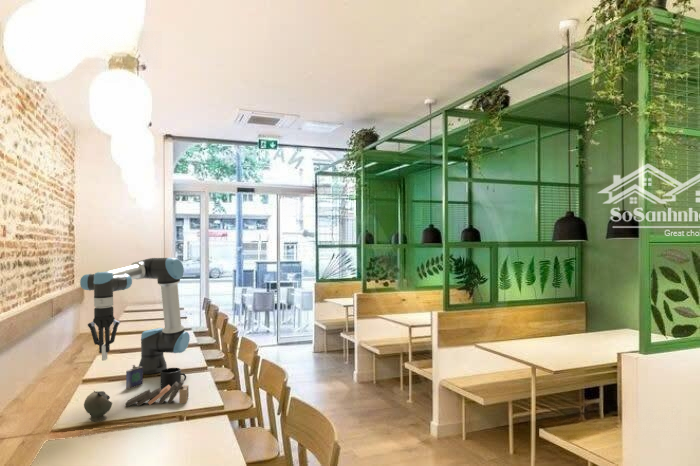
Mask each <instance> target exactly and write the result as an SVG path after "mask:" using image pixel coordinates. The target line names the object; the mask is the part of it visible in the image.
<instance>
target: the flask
mask: <svg viewBox="0 0 700 466" xmlns="http://www.w3.org/2000/svg"><path fill="white" fill-rule="evenodd" d="M125 371H126V373H125V388H126V389H127V390H129V389H133V388H136V387H139V386H142V385H143V383H144V379H143V378H144V377H143V376H144V374H143V367H141V366H139V365H138V366H136V365H135V364H133V365H132V368H130V369H127V370H125Z"/></svg>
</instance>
